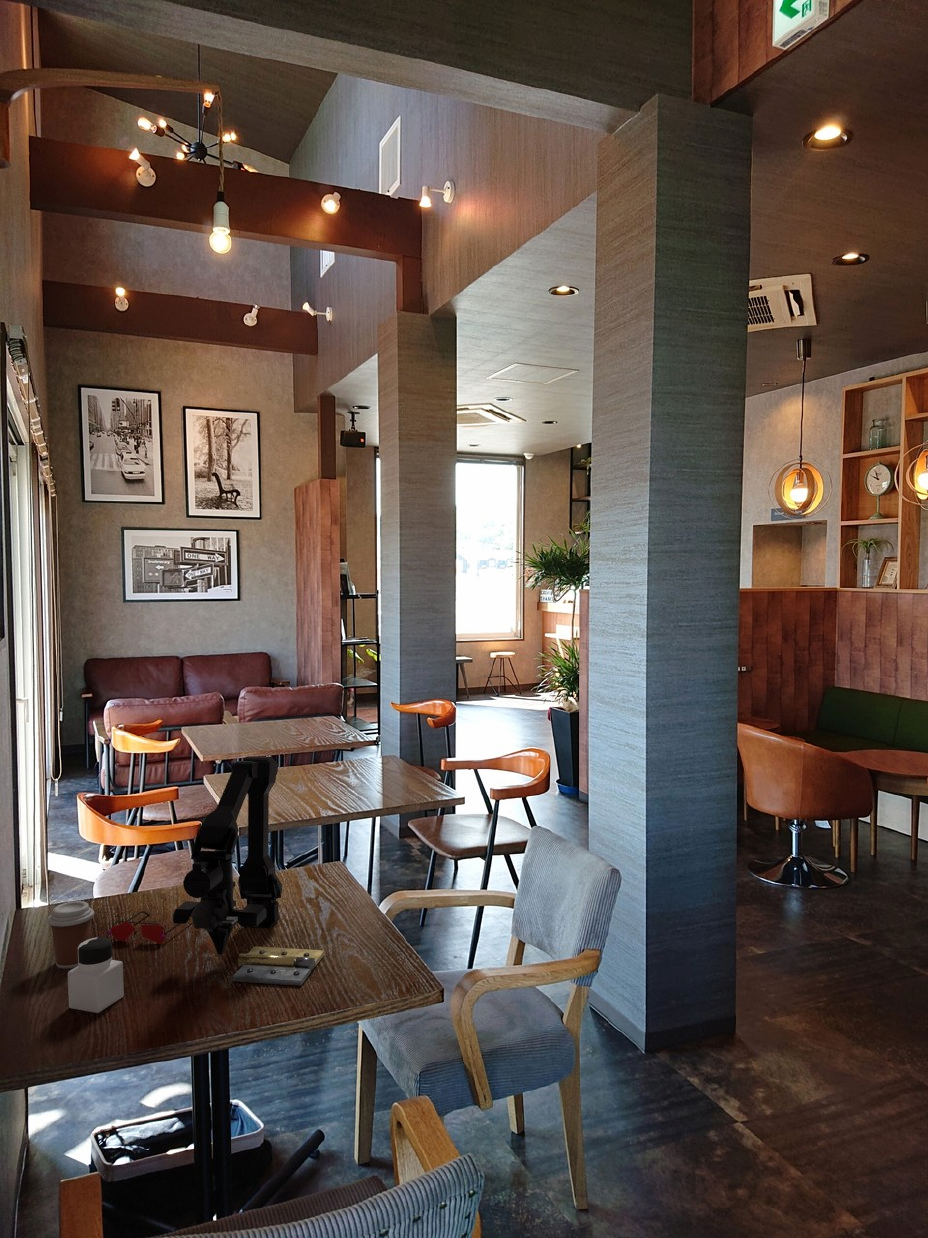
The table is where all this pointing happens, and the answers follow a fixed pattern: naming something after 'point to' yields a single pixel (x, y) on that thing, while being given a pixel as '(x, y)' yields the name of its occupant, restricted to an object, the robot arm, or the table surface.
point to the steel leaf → (276, 973)
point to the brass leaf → (277, 956)
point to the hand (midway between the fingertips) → (220, 954)
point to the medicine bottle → (95, 977)
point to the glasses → (148, 931)
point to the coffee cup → (70, 931)
